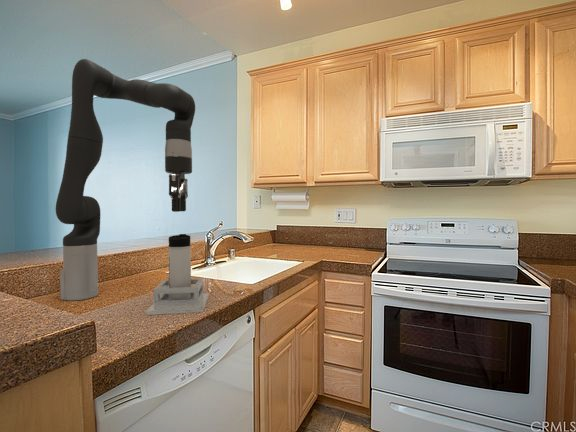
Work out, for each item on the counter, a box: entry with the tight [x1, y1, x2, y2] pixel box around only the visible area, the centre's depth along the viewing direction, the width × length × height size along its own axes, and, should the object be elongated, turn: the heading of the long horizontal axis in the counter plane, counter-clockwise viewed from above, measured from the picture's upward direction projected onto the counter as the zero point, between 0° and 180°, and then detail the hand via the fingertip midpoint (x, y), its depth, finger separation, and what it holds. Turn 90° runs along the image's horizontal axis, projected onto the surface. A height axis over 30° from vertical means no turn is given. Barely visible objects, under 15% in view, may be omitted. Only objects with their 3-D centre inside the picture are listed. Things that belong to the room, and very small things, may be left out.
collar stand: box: [145, 277, 210, 316], centre depth 88 cm, size 15×15×6 cm
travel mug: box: [168, 233, 192, 300], centre depth 89 cm, size 6×7×20 cm
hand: (179, 211), depth 88 cm, fingers open, 8 cm apart
